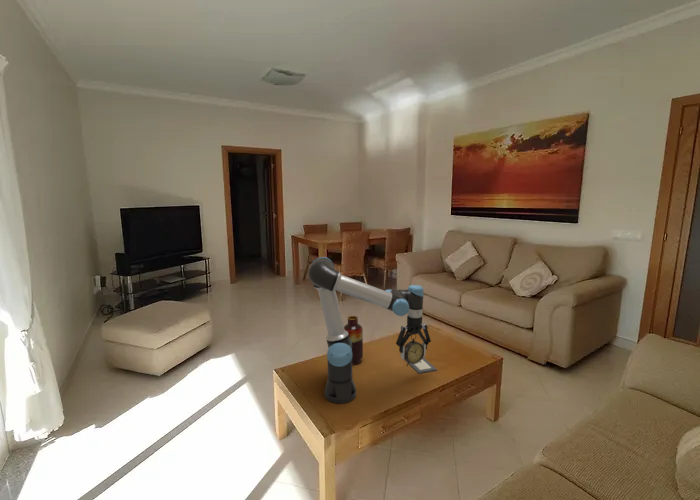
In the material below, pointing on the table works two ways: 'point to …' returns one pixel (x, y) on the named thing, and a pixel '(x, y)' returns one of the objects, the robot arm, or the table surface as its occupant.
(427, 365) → the mat
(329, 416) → the table surface
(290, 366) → the table surface
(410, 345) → the alarm clock
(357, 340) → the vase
